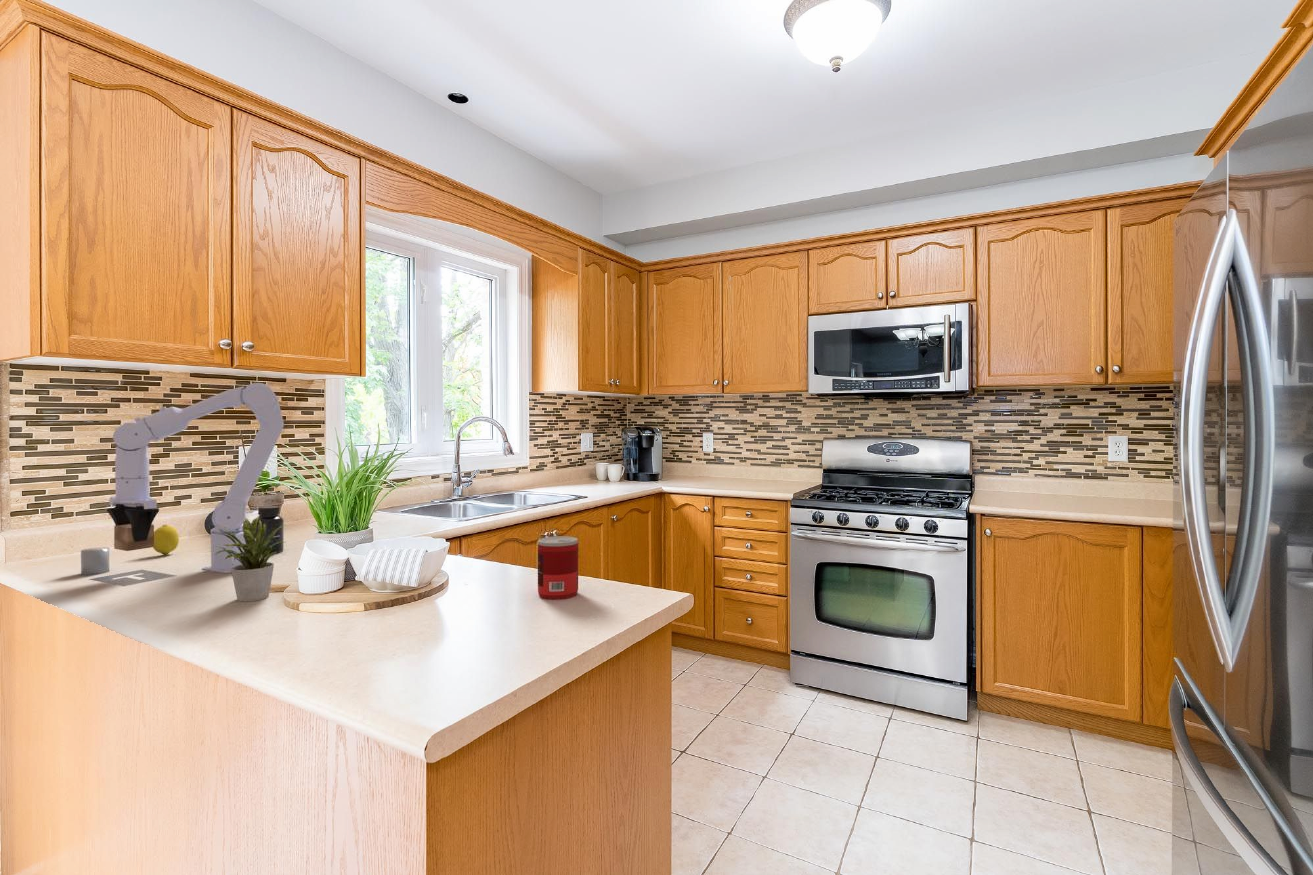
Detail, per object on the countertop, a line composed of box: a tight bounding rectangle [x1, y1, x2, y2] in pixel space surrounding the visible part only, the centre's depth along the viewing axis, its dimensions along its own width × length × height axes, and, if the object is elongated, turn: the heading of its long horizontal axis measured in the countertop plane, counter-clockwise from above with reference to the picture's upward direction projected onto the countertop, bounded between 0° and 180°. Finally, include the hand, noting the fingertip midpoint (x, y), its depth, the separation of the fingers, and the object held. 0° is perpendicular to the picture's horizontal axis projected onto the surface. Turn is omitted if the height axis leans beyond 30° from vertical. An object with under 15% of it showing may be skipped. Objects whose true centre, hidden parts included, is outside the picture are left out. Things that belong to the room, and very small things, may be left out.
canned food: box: [537, 535, 579, 600], centre depth 124 cm, size 8×8×11 cm
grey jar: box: [80, 546, 110, 576], centre depth 142 cm, size 5×5×6 cm
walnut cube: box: [113, 523, 155, 552], centre depth 138 cm, size 5×5×5 cm
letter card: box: [88, 569, 177, 587], centre depth 137 cm, size 14×10×1 cm
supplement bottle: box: [255, 505, 285, 555], centre depth 166 cm, size 7×7×12 cm
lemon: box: [152, 524, 180, 556], centre depth 161 cm, size 6×6×8 cm
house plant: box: [210, 515, 287, 602], centre depth 122 cm, size 14×14×16 cm
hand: (133, 539), depth 137 cm, fingers closed on walnut cube, 5 cm apart
